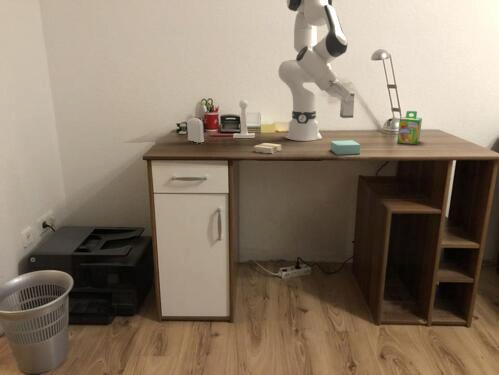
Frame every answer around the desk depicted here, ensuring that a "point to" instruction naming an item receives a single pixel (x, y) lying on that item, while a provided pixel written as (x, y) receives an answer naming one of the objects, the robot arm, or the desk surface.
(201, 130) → the grey arched block
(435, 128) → the desk surface
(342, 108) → the block
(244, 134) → the joystick
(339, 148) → the stand
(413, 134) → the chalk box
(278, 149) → the stand
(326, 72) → the robot arm
